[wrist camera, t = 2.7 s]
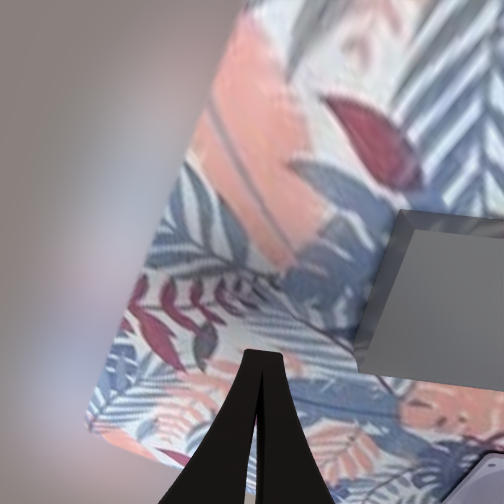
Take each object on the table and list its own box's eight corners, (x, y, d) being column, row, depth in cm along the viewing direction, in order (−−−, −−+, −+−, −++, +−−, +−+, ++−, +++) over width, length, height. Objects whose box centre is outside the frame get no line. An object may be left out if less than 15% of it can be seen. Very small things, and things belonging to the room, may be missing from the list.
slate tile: (550, 364, 19) (583, 402, 17) (351, 338, 20) (358, 372, 17) (664, 233, 14) (730, 263, 12) (397, 204, 15) (415, 229, 13)
